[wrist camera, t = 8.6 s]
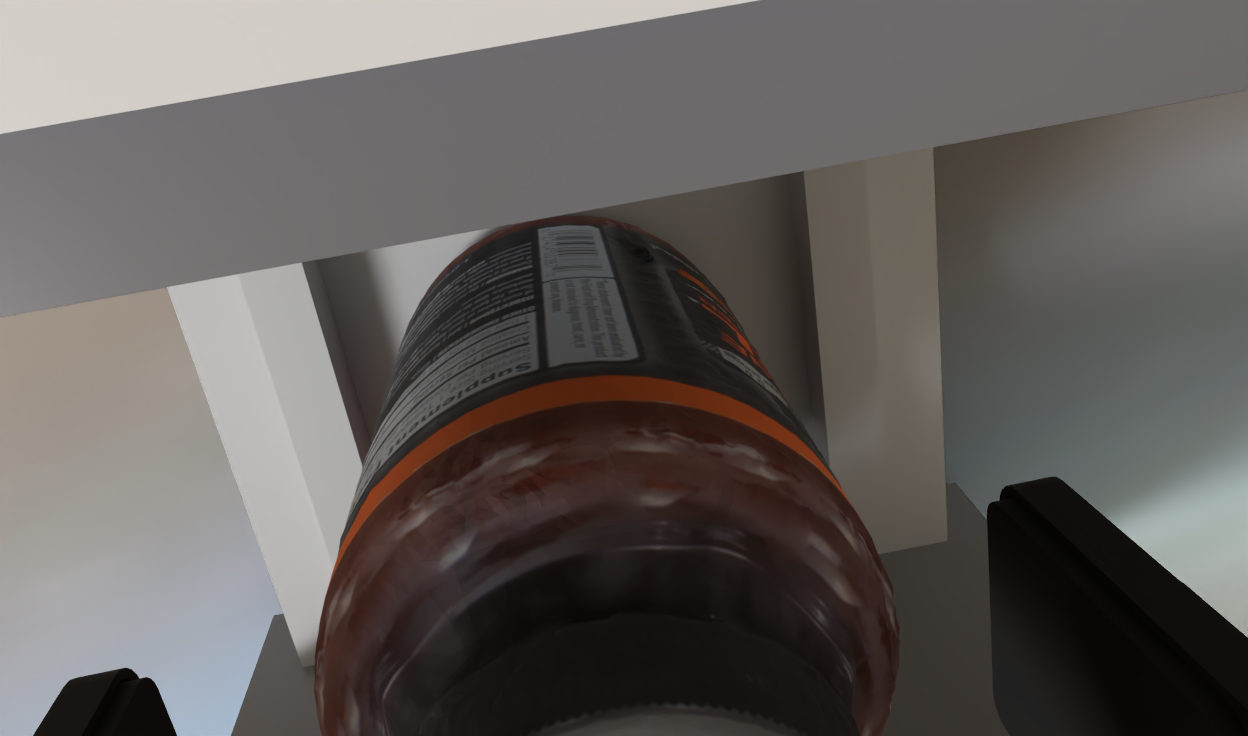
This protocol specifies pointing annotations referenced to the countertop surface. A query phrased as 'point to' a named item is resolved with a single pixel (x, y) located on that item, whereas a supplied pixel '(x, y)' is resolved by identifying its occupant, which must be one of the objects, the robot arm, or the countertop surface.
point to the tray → (774, 324)
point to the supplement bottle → (596, 518)
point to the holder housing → (507, 112)
